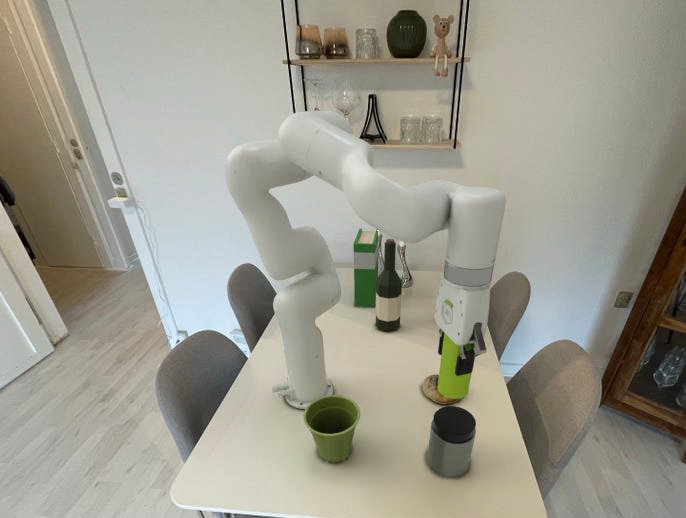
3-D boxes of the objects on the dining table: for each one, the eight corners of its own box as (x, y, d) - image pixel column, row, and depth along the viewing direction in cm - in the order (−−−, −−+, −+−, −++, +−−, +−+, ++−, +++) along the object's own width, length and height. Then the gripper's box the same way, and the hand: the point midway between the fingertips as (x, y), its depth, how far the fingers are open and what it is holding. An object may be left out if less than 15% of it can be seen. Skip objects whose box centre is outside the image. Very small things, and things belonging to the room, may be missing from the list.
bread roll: (468, 385, 104) (470, 372, 101) (454, 414, 97) (455, 401, 94) (430, 374, 109) (430, 361, 106) (414, 400, 102) (413, 387, 99)
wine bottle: (400, 320, 134) (404, 236, 118) (399, 332, 128) (403, 245, 111) (376, 319, 135) (377, 235, 119) (374, 331, 128) (375, 244, 112)
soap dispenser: (427, 385, 75) (437, 293, 64) (456, 376, 77) (470, 286, 66) (444, 404, 71) (458, 308, 59) (474, 393, 73) (493, 300, 62)
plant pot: (297, 450, 86) (291, 413, 79) (337, 423, 93) (335, 387, 86) (331, 482, 79) (328, 444, 72) (372, 450, 86) (372, 413, 79)
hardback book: (360, 286, 158) (359, 228, 145) (378, 287, 158) (378, 229, 144) (354, 306, 143) (353, 243, 130) (374, 307, 143) (375, 244, 130)
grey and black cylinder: (438, 481, 79) (444, 441, 72) (420, 449, 86) (424, 410, 79) (476, 471, 81) (486, 430, 74) (456, 440, 88) (463, 401, 81)
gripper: (423, 255, 67) (416, 342, 76) (475, 298, 53) (459, 396, 63) (462, 251, 68) (450, 336, 78) (521, 290, 55) (498, 387, 65)
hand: (454, 362), depth 70 cm, fingers closed on soap dispenser, 5 cm apart
